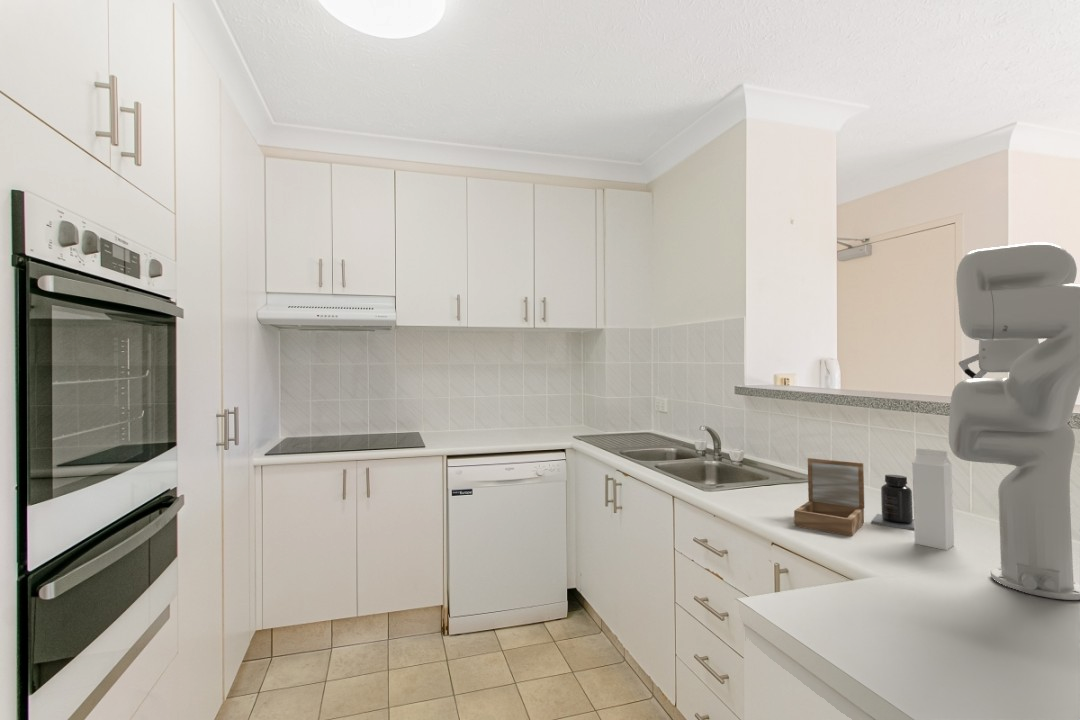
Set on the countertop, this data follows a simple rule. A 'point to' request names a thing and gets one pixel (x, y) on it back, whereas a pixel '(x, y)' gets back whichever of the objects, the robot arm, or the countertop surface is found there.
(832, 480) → the box
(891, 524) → the slate tile
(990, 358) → the robot arm
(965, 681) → the countertop surface
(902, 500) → the supplement bottle
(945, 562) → the countertop surface
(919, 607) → the countertop surface
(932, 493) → the milk
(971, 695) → the countertop surface
